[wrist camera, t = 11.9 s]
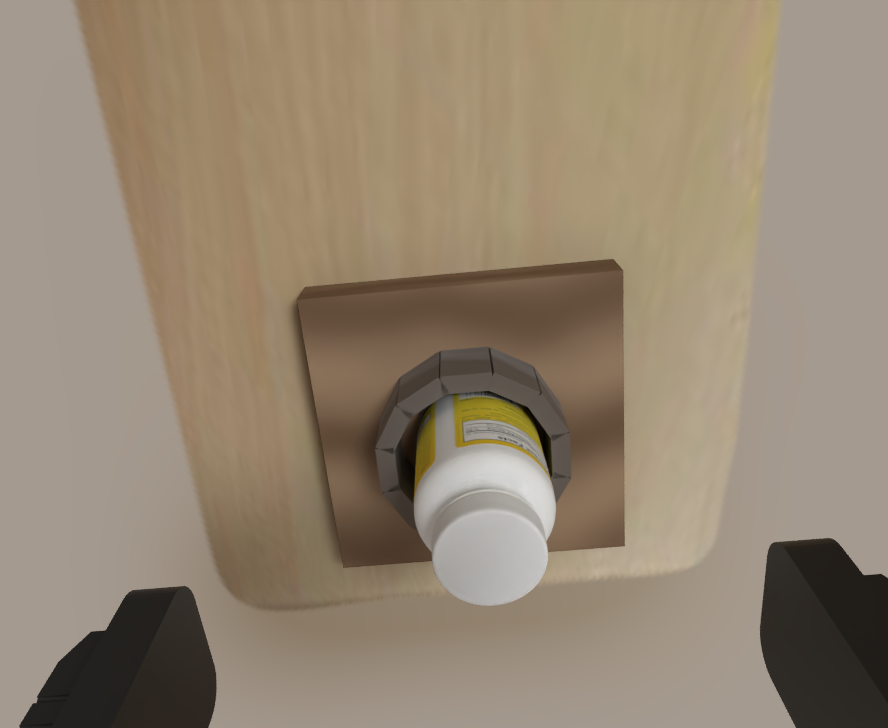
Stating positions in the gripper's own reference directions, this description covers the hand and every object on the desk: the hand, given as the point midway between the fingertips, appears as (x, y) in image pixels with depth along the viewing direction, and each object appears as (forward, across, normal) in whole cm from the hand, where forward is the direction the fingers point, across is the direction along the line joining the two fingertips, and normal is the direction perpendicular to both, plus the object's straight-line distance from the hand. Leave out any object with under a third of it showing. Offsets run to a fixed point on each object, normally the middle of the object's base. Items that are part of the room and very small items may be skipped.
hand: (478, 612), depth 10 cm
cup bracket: (+24, 0, +10) cm, 26 cm away
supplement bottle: (+22, 0, +9) cm, 24 cm away
